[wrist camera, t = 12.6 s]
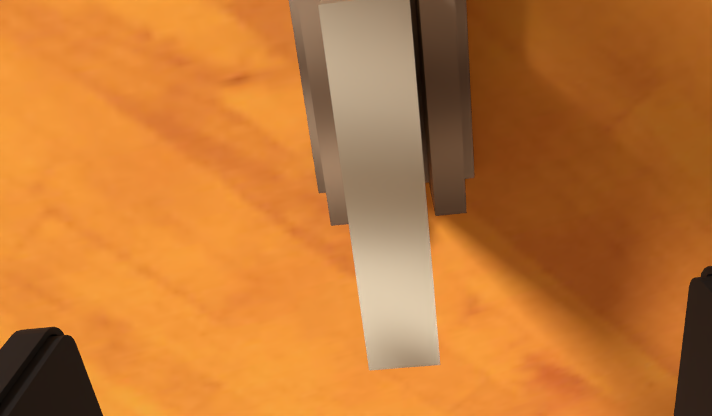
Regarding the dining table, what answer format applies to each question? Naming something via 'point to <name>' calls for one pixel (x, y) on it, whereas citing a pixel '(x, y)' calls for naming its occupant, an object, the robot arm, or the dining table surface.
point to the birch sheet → (383, 176)
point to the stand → (435, 99)
